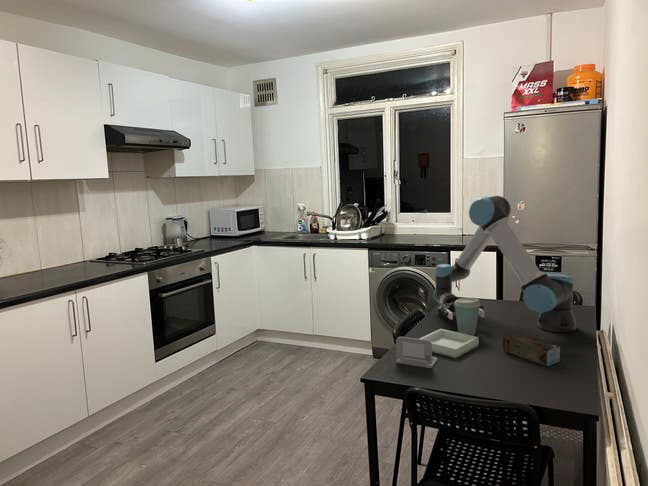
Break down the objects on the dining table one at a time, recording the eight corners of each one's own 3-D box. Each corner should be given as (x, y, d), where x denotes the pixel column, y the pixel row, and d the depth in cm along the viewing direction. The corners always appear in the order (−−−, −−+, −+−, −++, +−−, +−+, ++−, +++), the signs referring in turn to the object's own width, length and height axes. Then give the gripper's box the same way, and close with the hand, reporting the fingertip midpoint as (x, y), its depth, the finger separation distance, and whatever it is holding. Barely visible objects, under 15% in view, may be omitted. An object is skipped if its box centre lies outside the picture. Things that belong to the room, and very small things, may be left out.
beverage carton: (546, 367, 172) (547, 349, 171) (501, 351, 188) (501, 335, 187) (560, 362, 176) (561, 344, 175) (514, 347, 192) (515, 330, 191)
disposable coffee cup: (448, 334, 209) (448, 299, 207) (463, 328, 216) (463, 294, 214) (470, 339, 201) (470, 304, 199) (485, 333, 208) (485, 298, 206)
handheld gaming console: (438, 359, 182) (438, 333, 181) (431, 368, 174) (431, 341, 173) (404, 354, 188) (403, 329, 187) (396, 363, 180) (395, 337, 179)
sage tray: (478, 345, 194) (478, 337, 194) (455, 358, 182) (455, 349, 182) (440, 336, 206) (440, 328, 206) (417, 348, 194) (417, 339, 194)
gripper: (476, 308, 229) (496, 322, 208) (424, 311, 227) (438, 325, 206) (477, 292, 228) (496, 304, 207) (423, 296, 226) (438, 308, 205)
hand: (467, 315), depth 206 cm, fingers open, 13 cm apart
